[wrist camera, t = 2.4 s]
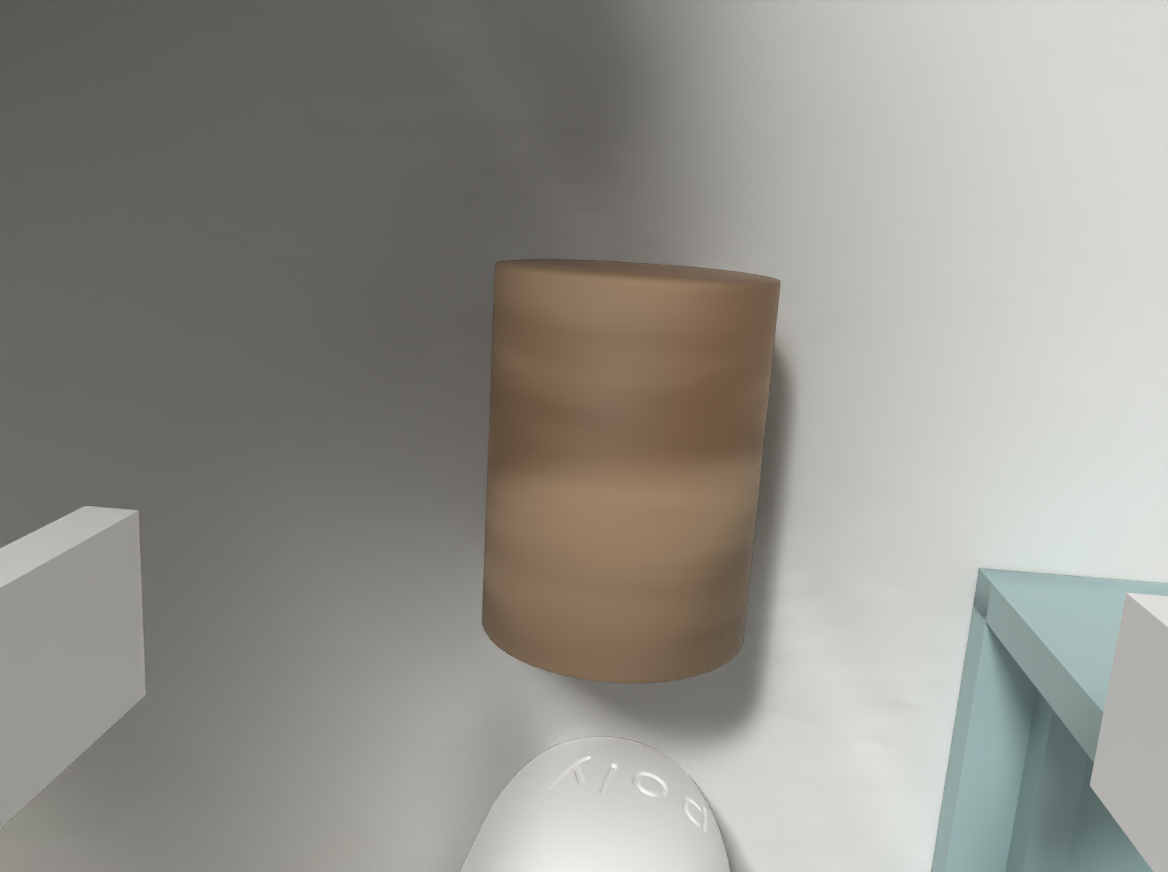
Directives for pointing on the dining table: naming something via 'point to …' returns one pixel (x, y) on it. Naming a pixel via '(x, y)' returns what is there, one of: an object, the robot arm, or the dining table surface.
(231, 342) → the dining table surface
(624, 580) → the roll
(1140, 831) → the robot arm
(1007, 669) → the cradle
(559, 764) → the figurine
